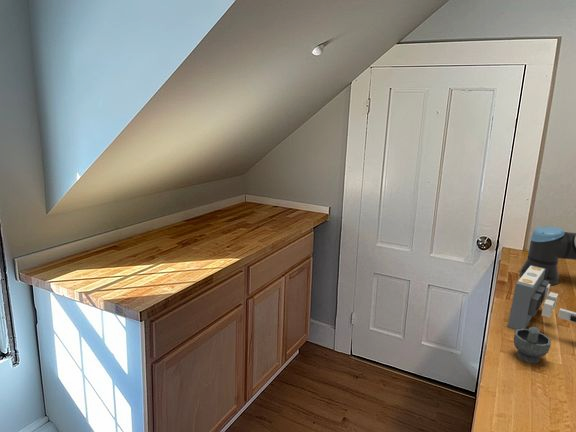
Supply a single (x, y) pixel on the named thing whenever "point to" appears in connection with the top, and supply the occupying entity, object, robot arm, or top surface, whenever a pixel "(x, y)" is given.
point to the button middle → (553, 298)
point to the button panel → (527, 297)
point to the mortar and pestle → (531, 344)
